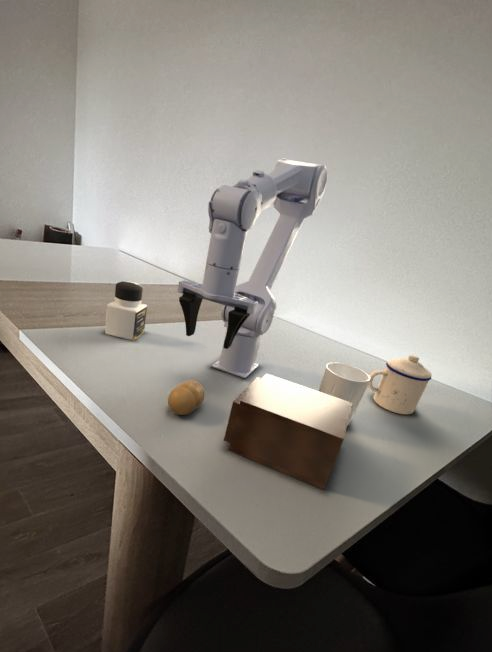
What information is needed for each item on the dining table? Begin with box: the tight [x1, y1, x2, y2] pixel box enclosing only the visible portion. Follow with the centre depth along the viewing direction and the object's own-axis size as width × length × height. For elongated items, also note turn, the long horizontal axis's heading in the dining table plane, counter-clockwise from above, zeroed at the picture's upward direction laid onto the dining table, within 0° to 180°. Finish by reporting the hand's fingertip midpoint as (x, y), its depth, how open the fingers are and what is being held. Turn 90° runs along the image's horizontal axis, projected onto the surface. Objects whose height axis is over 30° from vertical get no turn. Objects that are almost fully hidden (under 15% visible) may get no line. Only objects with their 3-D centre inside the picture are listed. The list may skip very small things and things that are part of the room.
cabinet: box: [227, 372, 353, 491], centre depth 60 cm, size 15×13×9 cm
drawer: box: [223, 376, 262, 444], centre depth 61 cm, size 15×11×7 cm
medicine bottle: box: [104, 280, 148, 341], centre depth 91 cm, size 7×7×12 cm
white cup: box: [318, 362, 371, 427], centre depth 72 cm, size 8×8×10 cm
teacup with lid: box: [367, 354, 433, 415], centre depth 83 cm, size 12×9×12 cm
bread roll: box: [167, 379, 206, 416], centre depth 66 cm, size 8×5×5 cm
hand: (208, 340), depth 72 cm, fingers open, 7 cm apart
